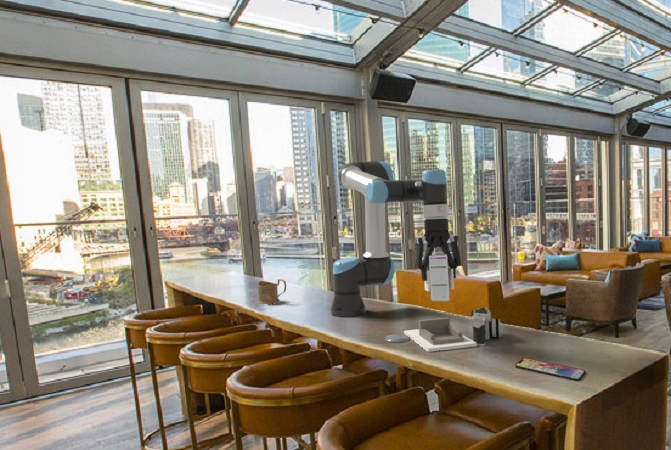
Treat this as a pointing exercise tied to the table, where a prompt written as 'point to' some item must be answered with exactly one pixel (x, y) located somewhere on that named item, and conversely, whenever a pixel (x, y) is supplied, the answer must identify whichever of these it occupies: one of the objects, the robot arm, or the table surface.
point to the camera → (484, 326)
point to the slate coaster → (396, 338)
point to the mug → (269, 292)
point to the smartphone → (551, 369)
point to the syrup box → (439, 277)
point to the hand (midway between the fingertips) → (439, 289)
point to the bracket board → (439, 335)
